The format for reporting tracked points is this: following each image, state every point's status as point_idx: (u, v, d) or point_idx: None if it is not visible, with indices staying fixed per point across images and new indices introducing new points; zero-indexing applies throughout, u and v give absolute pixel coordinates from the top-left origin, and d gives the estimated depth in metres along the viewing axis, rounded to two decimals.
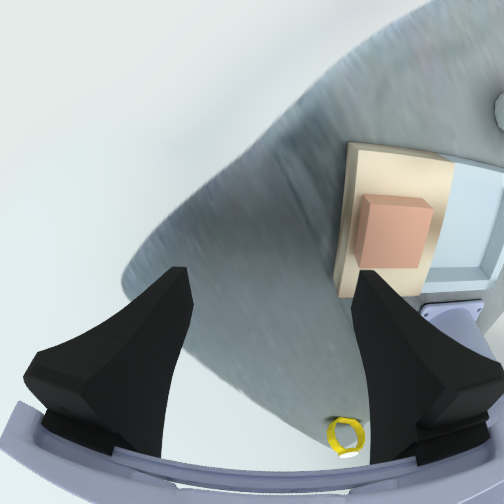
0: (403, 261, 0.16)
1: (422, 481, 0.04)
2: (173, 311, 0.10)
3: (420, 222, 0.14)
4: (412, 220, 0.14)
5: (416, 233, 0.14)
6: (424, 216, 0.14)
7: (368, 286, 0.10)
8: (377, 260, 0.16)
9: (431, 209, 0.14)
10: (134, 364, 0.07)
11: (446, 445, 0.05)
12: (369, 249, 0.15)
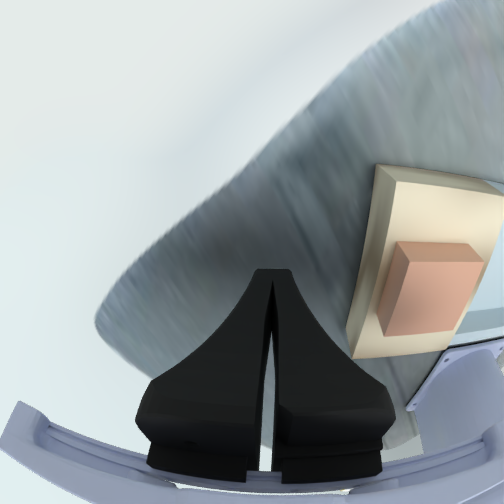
0: (438, 324, 0.11)
1: (422, 481, 0.04)
2: (269, 316, 0.10)
3: (466, 279, 0.10)
4: (457, 278, 0.10)
5: (459, 293, 0.10)
6: (472, 272, 0.09)
7: (273, 286, 0.10)
8: (407, 326, 0.11)
9: (481, 263, 0.09)
10: (260, 377, 0.07)
11: (314, 469, 0.05)
12: (400, 315, 0.11)
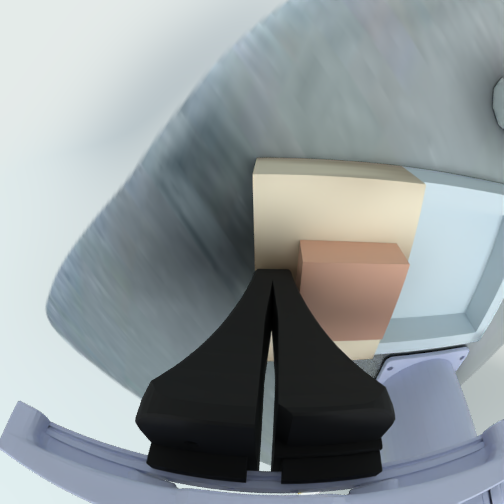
0: (360, 332, 0.11)
1: (422, 481, 0.04)
2: (269, 316, 0.10)
3: (387, 284, 0.10)
4: (373, 282, 0.10)
5: (380, 299, 0.10)
6: (394, 275, 0.10)
7: (273, 286, 0.10)
8: None
9: (406, 265, 0.09)
10: (261, 377, 0.07)
11: (314, 469, 0.05)
12: None
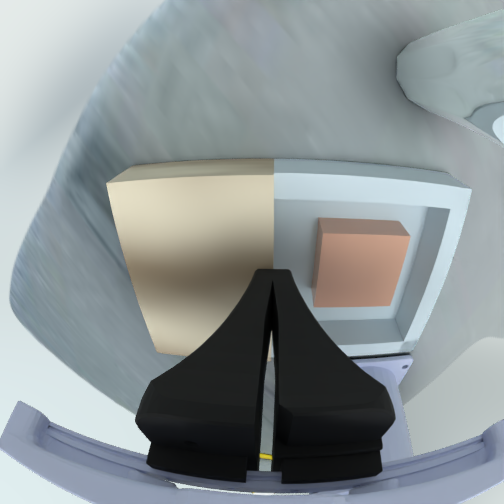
0: None
1: (422, 481, 0.04)
2: (269, 316, 0.10)
3: None
4: None
5: None
6: None
7: (273, 286, 0.10)
8: None
9: (321, 218, 0.13)
10: (261, 377, 0.07)
11: (314, 469, 0.05)
12: None
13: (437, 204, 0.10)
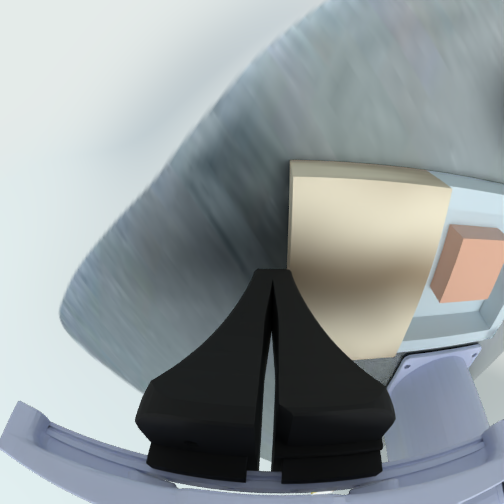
0: None
1: (422, 481, 0.04)
2: (269, 316, 0.10)
3: None
4: None
5: None
6: None
7: (273, 286, 0.10)
8: None
9: (451, 225, 0.12)
10: (261, 377, 0.07)
11: (314, 469, 0.05)
12: None
13: None
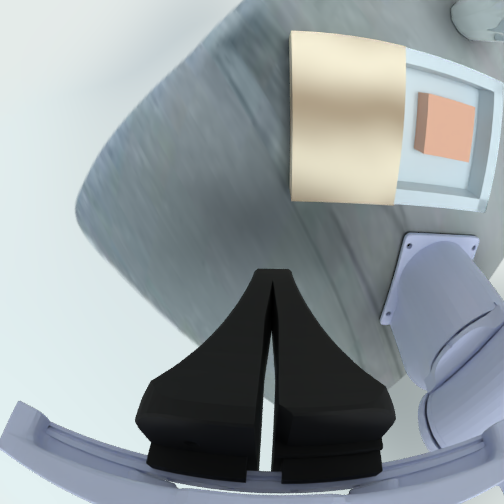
0: None
1: (422, 481, 0.04)
2: (269, 316, 0.10)
3: None
4: None
5: None
6: None
7: (273, 286, 0.10)
8: None
9: None
10: (261, 377, 0.07)
11: (314, 469, 0.05)
12: None
13: (487, 87, 0.11)
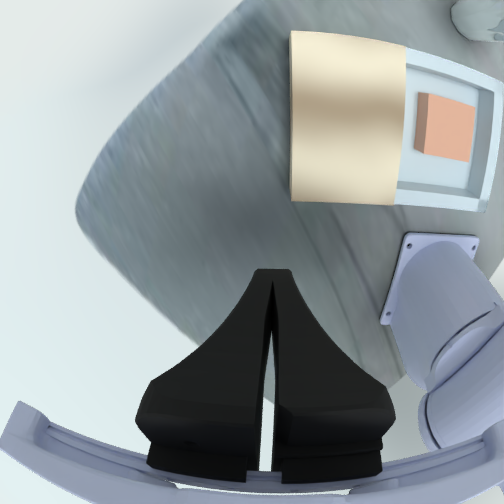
0: None
1: (422, 481, 0.04)
2: (269, 316, 0.10)
3: None
4: None
5: None
6: None
7: (273, 286, 0.10)
8: None
9: None
10: (261, 377, 0.07)
11: (314, 469, 0.05)
12: None
13: (487, 87, 0.11)
